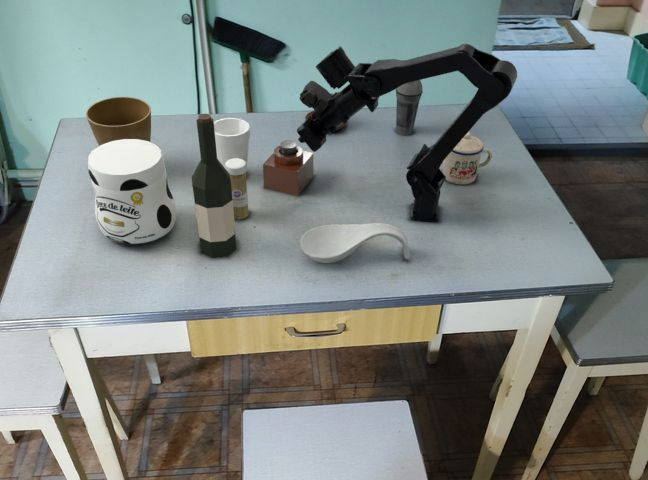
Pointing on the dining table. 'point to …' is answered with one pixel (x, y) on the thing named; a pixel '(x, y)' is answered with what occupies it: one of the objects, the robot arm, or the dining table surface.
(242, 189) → the sprinkles bottle
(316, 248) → the spoon rest
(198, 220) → the wine bottle
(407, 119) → the beverage cup
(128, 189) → the milk container
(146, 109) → the plant pot
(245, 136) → the foam cup
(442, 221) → the dining table surface
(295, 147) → the dark grey short cylinder
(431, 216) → the robot arm
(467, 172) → the teacup with lid
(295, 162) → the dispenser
